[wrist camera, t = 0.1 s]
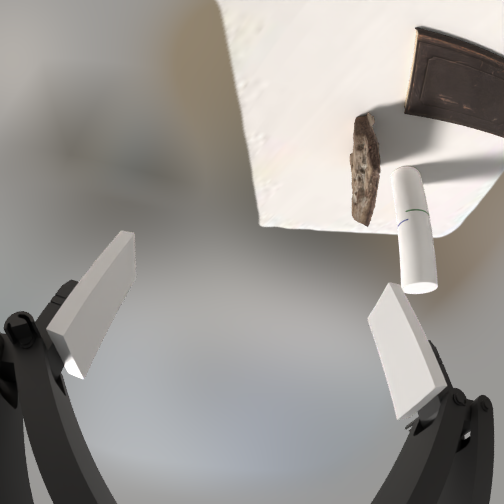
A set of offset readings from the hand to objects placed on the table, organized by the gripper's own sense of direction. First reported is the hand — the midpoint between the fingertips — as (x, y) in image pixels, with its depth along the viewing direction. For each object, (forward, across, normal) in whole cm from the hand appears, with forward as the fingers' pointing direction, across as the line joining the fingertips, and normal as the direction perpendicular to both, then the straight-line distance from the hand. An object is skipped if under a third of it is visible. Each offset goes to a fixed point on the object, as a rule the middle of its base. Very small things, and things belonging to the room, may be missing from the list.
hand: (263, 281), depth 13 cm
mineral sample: (+41, +18, +5) cm, 45 cm away
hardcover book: (+28, +29, +24) cm, 47 cm away
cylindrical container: (+44, +32, +1) cm, 54 cm away
